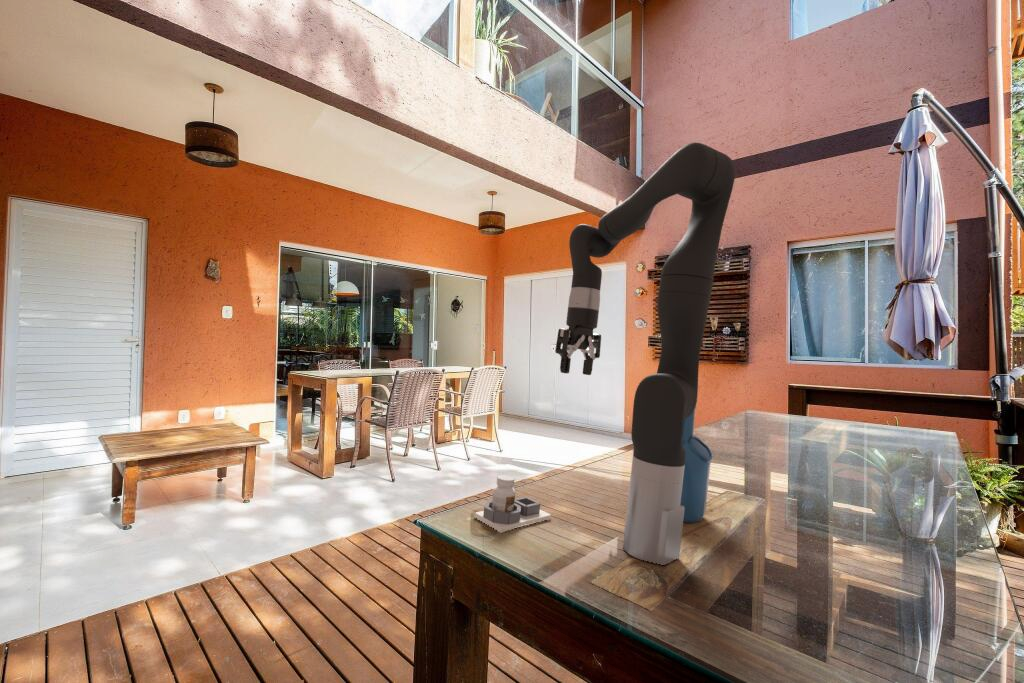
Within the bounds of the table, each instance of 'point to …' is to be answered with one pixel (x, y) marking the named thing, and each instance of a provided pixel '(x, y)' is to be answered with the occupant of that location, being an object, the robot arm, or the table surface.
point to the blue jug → (694, 473)
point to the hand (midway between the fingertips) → (576, 373)
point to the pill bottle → (504, 494)
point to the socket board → (513, 515)
